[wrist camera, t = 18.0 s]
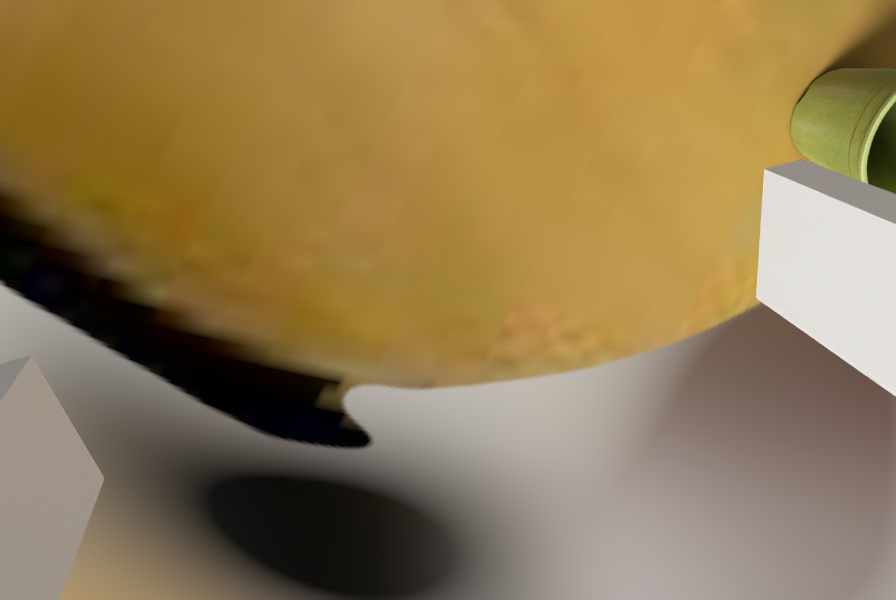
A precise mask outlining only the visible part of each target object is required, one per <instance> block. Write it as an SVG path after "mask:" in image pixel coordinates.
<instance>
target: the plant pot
mask: <svg viewBox="0 0 896 600" xmlns="http://www.w3.org/2000/svg"><path fill="white" fill-rule="evenodd" d="M791 137H792V141H793V143H794V146H795V147H796V149H797V150H798V151H799V152H800V153H801V154H802V155H804V156H805V157H807V158H808V159H810V160H811V161H813V162H815V163H816V164H818V165H820V166H821V167H824V168H827V169H829V170H832V171H835V172H837V173H840V174H843V175H845V176H848V177H851V178H854V179H856V180H859V181H862V182H864V183H867V184H870V185H873V186H875V187H878V188H881V189H883V190H886V191H889V192H891V193H894V194H896V68H841V69H836V70H832V71H830V72H828V73H826V74H824V75H822V76H820V77H819V78H817V79H816V80H815V81H814V82H813V83H812V84H811V85H810V87H809V89H808V91H807V92H806V94H805V95H804V96H803V98H802V99H801V100H800V101H799V103H798V104H797V105H796V106H795V109H794V111H793V115H792V119H791Z"/></svg>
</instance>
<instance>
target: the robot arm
mask: <svg viewBox="0 0 896 600" xmlns="http://www.w3.org/2000/svg"><path fill="white" fill-rule="evenodd" d="M756 298H757V299H758V300H760V301H761V302H763V303H764V304H765V305H767V306H768V307H770V308H771V309H772V310H774V311H776V312H777V313H778V314H780V315H781V316H782V317H784V318H785V319H787V320H788V321H790V322H791V323H792V324H794V325H795V326H797V327H798V328H800V329H801V330H802V331H804V332H805V333H807V334H808V335H810V336H811V337H812V338H814V339H815V340H817V341H818V342H819V343H821V344H822V345H824V346H825V347H826V348H828V349H829V350H831V351H832V352H833V353H835V354H836V355H838V356H839V357H840V358H842V359H843V360H845V361H846V362H848V363H849V364H850V365H852V366H853V367H855V368H856V369H857V370H859V371H860V372H862V373H863V374H865V375H866V376H867V377H869V378H870V379H872V380H873V381H875V382H876V383H877V384H879V385H880V386H882V387H883V388H884V389H886V390H887V391H889V392H890V393H892V394H893V395H894V396H896V194H894V193H891V192H889V191H886V190H883V189H881V188H878V187H875V186H873V185H870V184H867V183H864V182H862V181H859V180H856V179H854V178H851V177H848V176H845V175H843V174H840V173H837V172H835V171H832V170H829V169H827V168H824V167H821V166H818V165H816V164H813V163H810V162H808V161H805V160H798V161H794V162H790V163H786V164H782V165H778V166H774V167H770V168H767V169H764V183H763V198H762V214H761V229H760V245H759V261H758V276H757V292H756ZM103 480H104V477H103V475H102V474H101V472H100V470H99V469H98V467H97V465H96V464H95V462H94V460H93V459H92V457H91V455H90V454H89V452H88V450H87V449H86V447H85V445H84V443H83V442H82V440H81V438H80V437H79V435H78V434H77V432H76V430H75V428H74V427H73V425H72V423H71V422H70V420H69V418H68V416H67V415H66V413H65V412H64V410H63V408H62V406H61V405H60V403H59V401H58V400H57V398H56V396H55V395H54V393H53V391H52V390H51V388H50V386H49V385H48V383H47V381H46V380H45V378H44V376H43V375H42V373H41V371H40V369H39V368H38V366H37V364H36V363H35V361H34V359H33V358H32V356H29V357H25V358H21V359H17V360H13V361H10V362H6V363H1V364H0V600H59V599H60V596H61V593H62V591H63V588H64V585H65V583H66V580H67V577H68V575H69V572H70V569H71V566H72V564H73V561H74V558H75V556H76V553H77V550H78V548H79V545H80V542H81V540H82V537H83V534H84V532H85V529H86V526H87V523H88V521H89V518H90V515H91V513H92V510H93V507H94V505H95V502H96V499H97V497H98V494H99V491H100V489H101V486H102V483H103Z"/></svg>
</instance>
